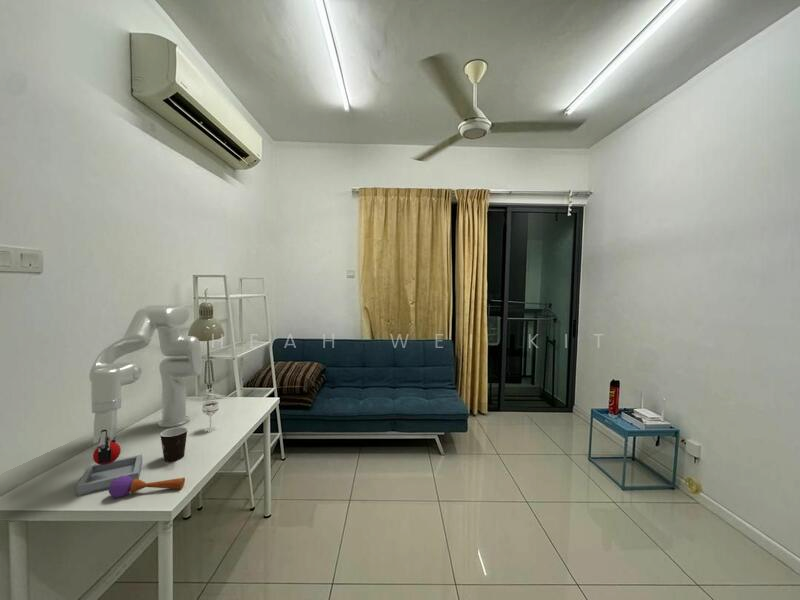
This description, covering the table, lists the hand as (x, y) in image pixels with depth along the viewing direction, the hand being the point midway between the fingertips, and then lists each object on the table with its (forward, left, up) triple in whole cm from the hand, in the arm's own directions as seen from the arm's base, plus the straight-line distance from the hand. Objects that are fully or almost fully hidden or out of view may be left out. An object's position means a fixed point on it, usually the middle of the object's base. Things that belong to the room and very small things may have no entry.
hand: (107, 456), depth 113 cm
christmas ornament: (0, 0, -2) cm, 2 cm away
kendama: (+16, +12, -8) cm, 22 cm away
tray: (0, +1, -7) cm, 8 cm away
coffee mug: (-4, +18, -8) cm, 20 cm away
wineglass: (-28, +32, -8) cm, 43 cm away
